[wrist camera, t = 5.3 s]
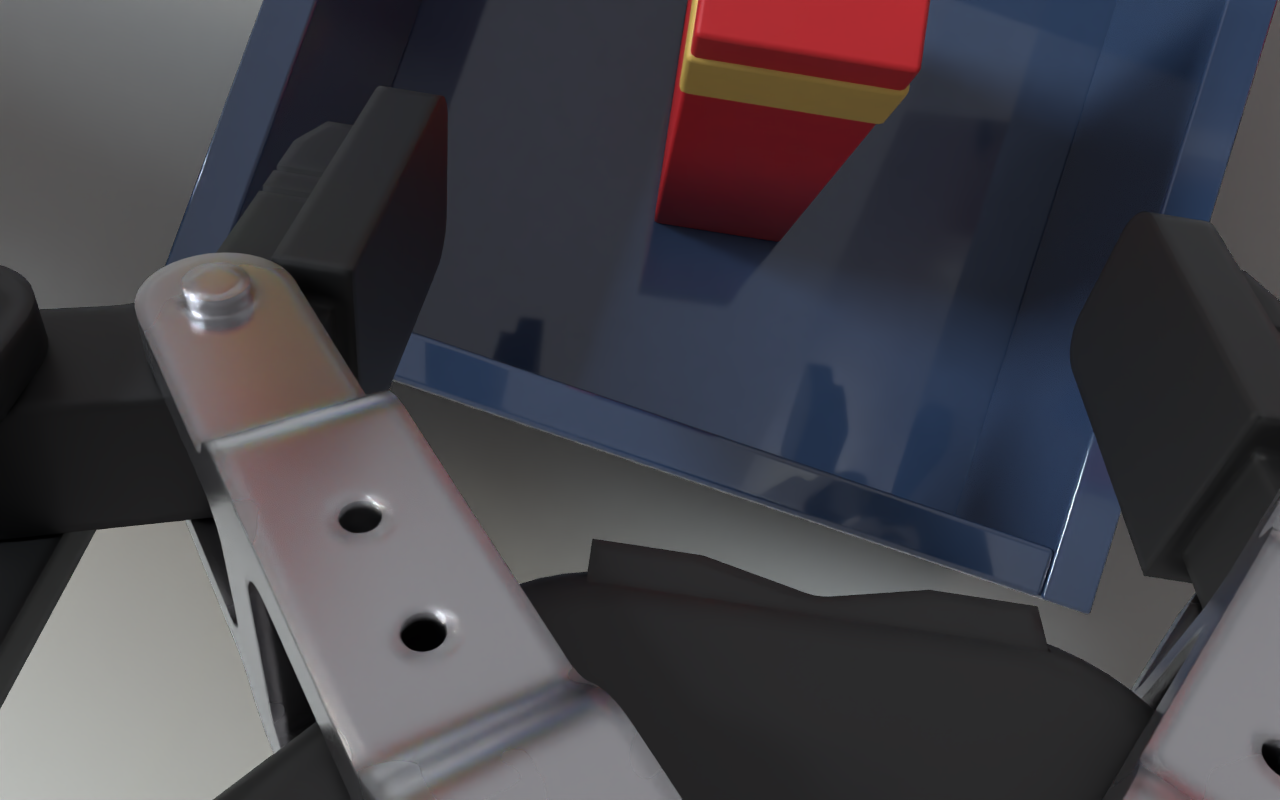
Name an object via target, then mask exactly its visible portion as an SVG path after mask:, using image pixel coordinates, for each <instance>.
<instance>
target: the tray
mask: <svg viewBox="0 0 1280 800" xmlns="http://www.w3.org/2000/svg"><path fill="white" fill-rule="evenodd" d="M687 1H688V0H263V2H262V5H261V8H260V10H259V13H258V16H257V18H256V21H255V24H254V27H253V29H252V32H251V35H250V37H249V40H248V43H247V45H246V48H245V51H244V54H243V56H242V59H241V62H240V64H239V67H238V70H237V73H236V75H235V78H234V81H233V83H232V86H231V89H230V91H229V94H228V97H227V100H226V102H225V105H224V108H223V110H222V113H221V116H220V119H219V121H218V124H217V127H216V129H215V132H214V135H213V137H212V140H211V143H210V146H209V148H208V151H207V154H206V156H205V159H204V162H203V165H202V167H201V170H200V173H199V175H198V178H197V181H196V184H195V186H194V189H193V192H192V194H191V197H190V200H189V202H188V205H187V208H186V211H185V213H184V216H183V219H182V221H181V224H180V227H179V230H178V232H177V235H176V238H175V240H174V243H173V246H172V248H171V251H170V254H169V257H168V259H167V262H166V265H165V266H167V265H169V264H171V263H173V262H176V261H179V260H181V259H184V258H188V257H192V256H196V255H202V254H209V253H216V252H217V251H218V249H219V248H220V247H221V245H222V244H223V242H224V241H225V239H226V238H227V236H228V235H229V234H230V232H231V231H232V229H233V228H234V226H235V225H236V223H237V222H238V221H239V219H240V218H241V216H242V215H243V213H244V212H245V210H246V209H247V208H248V206H249V205H250V203H251V202H252V200H253V199H254V197H255V196H256V195H257V193H258V192H259V191H262V190H263V184H264V183H265V182H266V180H267V179H268V177H269V176H270V174H271V173H272V172H273V170H277V164H278V163H279V161H280V160H281V159H282V157H283V156H284V154H285V153H286V151H287V150H288V148H289V147H290V146H291V144H292V143H293V141H294V140H295V139H297V138H299V137H301V136H302V135H304V134H306V133H308V132H309V131H311V130H313V129H315V128H317V127H318V126H320V125H322V124H324V123H325V122H327V121H330V122H336V123H342V124H349V125H354V123H355V121H356V120H357V118H358V116H359V115H360V113H361V112H362V110H363V108H364V107H365V105H366V104H367V102H368V100H369V99H370V97H371V95H372V94H373V92H374V91H375V89H376V88H377V87H378V86H385V87H392V88H398V89H404V90H410V91H416V92H422V93H429V94H435V95H441V96H444V97H445V99H446V103H447V111H448V150H447V220H446V232H445V239H444V245H443V250H442V255H441V259H440V262H439V265H438V268H437V271H436V273H435V276H434V278H433V281H432V283H431V286H430V288H429V291H428V293H427V296H426V298H425V301H424V303H423V306H422V308H421V311H420V313H419V316H418V318H417V321H416V323H415V326H414V328H413V331H412V333H411V336H410V338H409V341H408V343H407V346H406V348H405V350H404V353H403V355H402V358H401V360H400V363H399V365H398V368H397V370H396V373H395V375H394V378H393V380H392V381H394V382H397V383H400V384H403V385H406V386H408V387H411V388H414V389H417V390H420V391H423V392H426V393H429V394H432V395H435V396H438V397H441V398H444V399H447V400H450V401H453V402H456V403H459V404H462V405H465V406H468V407H471V408H474V409H477V410H480V411H483V412H486V413H489V414H491V415H494V416H497V417H500V418H503V419H506V420H509V421H512V422H515V423H518V424H521V425H524V426H527V427H530V428H533V429H536V430H539V431H542V432H545V433H548V434H551V435H554V436H557V437H560V438H563V439H566V440H569V441H571V442H574V443H577V444H580V445H583V446H586V447H589V448H592V449H595V450H598V451H601V452H604V453H607V454H610V455H613V456H616V457H619V458H622V459H625V460H628V461H631V462H634V463H637V464H640V465H643V466H646V467H649V468H652V469H654V470H657V471H660V472H663V473H666V474H669V475H672V476H675V477H678V478H681V479H684V480H687V481H690V482H693V483H696V484H699V485H702V486H705V487H708V488H711V489H714V490H717V491H720V492H723V493H726V494H729V495H732V496H734V497H737V498H740V499H743V500H746V501H749V502H752V503H755V504H758V505H761V506H764V507H767V508H770V509H773V510H776V511H779V512H782V513H785V514H788V515H791V516H794V517H797V518H800V519H803V520H806V521H809V522H812V523H815V524H817V525H820V526H823V527H826V528H829V529H832V530H835V531H838V532H841V533H844V534H847V535H850V536H853V537H856V538H859V539H862V540H865V541H868V542H871V543H874V544H877V545H880V546H883V547H886V548H889V549H892V550H895V551H897V552H900V553H903V554H906V555H909V556H912V557H915V558H918V559H921V560H924V561H927V562H930V563H933V564H936V565H939V566H942V567H945V568H948V569H951V570H954V571H957V572H960V573H963V574H966V575H969V576H972V577H975V578H978V579H981V580H984V581H987V582H990V583H993V584H996V585H999V586H1002V587H1005V588H1008V589H1011V590H1014V591H1017V592H1020V593H1023V594H1027V595H1030V596H1033V597H1036V598H1039V599H1042V600H1045V601H1048V602H1051V603H1054V604H1057V605H1060V606H1063V607H1066V608H1069V609H1072V610H1075V611H1078V612H1081V613H1084V614H1089V613H1090V612H1091V609H1092V605H1093V602H1094V599H1095V595H1096V592H1097V589H1098V586H1099V582H1100V579H1101V576H1102V573H1103V569H1104V566H1105V563H1106V559H1107V556H1108V553H1109V550H1110V546H1111V543H1112V540H1113V537H1114V533H1115V530H1116V527H1117V523H1118V520H1119V517H1120V514H1121V509H1120V506H1119V503H1118V500H1117V497H1116V494H1115V492H1114V489H1113V486H1112V483H1111V480H1110V477H1109V474H1108V472H1107V469H1106V466H1105V463H1104V460H1103V457H1102V455H1101V452H1100V449H1099V446H1098V443H1097V440H1096V437H1095V435H1094V432H1093V429H1092V426H1091V423H1090V420H1089V417H1088V415H1087V412H1086V409H1085V406H1084V403H1083V400H1082V397H1081V395H1080V392H1079V389H1078V386H1077V383H1076V380H1075V378H1074V375H1073V372H1072V368H1071V364H1070V344H1071V338H1072V333H1073V330H1074V326H1075V323H1076V321H1077V318H1078V316H1079V314H1080V312H1081V310H1082V308H1083V306H1084V305H1085V303H1086V301H1087V299H1088V297H1089V295H1090V293H1091V291H1092V289H1093V287H1094V285H1095V283H1096V281H1097V280H1098V278H1099V276H1100V274H1101V272H1102V270H1103V268H1104V266H1105V264H1106V262H1107V260H1108V258H1109V256H1110V255H1111V253H1112V251H1113V249H1114V247H1115V245H1116V243H1117V241H1118V239H1119V237H1120V235H1121V233H1122V231H1123V230H1124V228H1125V226H1126V225H1127V224H1128V222H1129V221H1130V220H1131V219H1132V218H1133V217H1134V216H1135V215H1136V214H1138V213H1140V212H1144V211H1146V212H1152V213H1158V214H1165V215H1171V216H1177V217H1183V218H1189V219H1195V220H1202V221H1207V222H1210V219H1211V216H1212V213H1213V210H1214V206H1215V203H1216V200H1217V196H1218V193H1219V190H1220V187H1221V183H1222V180H1223V177H1224V174H1225V170H1226V167H1227V164H1228V160H1229V157H1230V154H1231V151H1232V147H1233V144H1234V141H1235V138H1236V134H1237V131H1238V128H1239V125H1240V121H1241V118H1242V115H1243V111H1244V108H1245V105H1246V102H1247V98H1248V95H1249V92H1250V89H1251V85H1252V82H1253V79H1254V75H1255V72H1256V69H1257V66H1258V62H1259V59H1260V56H1261V53H1262V49H1263V46H1264V43H1265V39H1266V36H1267V33H1268V30H1269V26H1270V23H1271V20H1272V17H1273V13H1274V10H1275V7H1276V4H1277V0H930V6H929V13H928V21H927V28H926V35H925V42H924V49H923V57H922V64H921V69H920V71H919V73H918V74H917V75H916V76H915V78H914V79H913V80H912V81H911V82H910V87H909V92H908V94H907V95H906V97H905V98H904V99H903V100H902V101H901V103H900V104H899V105H898V106H897V107H896V109H895V110H894V111H893V112H892V113H891V114H890V116H889V117H888V118H887V119H886V120H885V122H884V123H881V124H876V125H875V126H874V127H873V129H872V130H871V131H870V132H869V133H868V135H867V136H866V137H865V138H864V139H863V141H862V142H861V143H860V144H859V146H858V147H857V148H856V149H855V150H854V152H853V153H852V154H851V155H850V156H849V158H848V159H847V160H846V161H845V163H844V164H843V165H842V166H841V167H840V169H839V170H838V171H837V172H836V173H835V175H834V176H833V177H832V178H831V180H830V181H829V182H828V183H827V184H826V186H825V187H824V188H823V189H822V190H821V192H820V193H819V194H818V195H817V197H816V198H815V199H814V200H813V201H812V203H811V204H810V205H809V206H808V207H807V209H806V210H805V211H804V212H803V214H802V215H801V216H800V217H799V218H798V220H797V221H796V222H795V223H794V224H793V226H792V227H791V228H790V229H789V231H788V232H787V233H786V234H785V235H784V237H783V238H782V239H781V240H780V241H778V242H776V241H769V240H763V239H757V238H750V237H744V236H738V235H731V234H725V233H719V232H712V231H706V230H700V229H693V228H687V227H681V226H674V225H668V224H662V223H657V222H655V219H654V218H655V211H656V204H657V198H658V191H659V185H660V178H661V172H662V165H663V159H664V152H665V145H666V139H667V132H668V126H669V119H670V113H671V106H672V100H673V93H674V86H675V80H676V73H677V67H678V60H679V54H680V47H681V41H682V34H683V27H684V21H685V14H686V8H687Z"/></svg>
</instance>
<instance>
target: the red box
mask: <svg viewBox="0 0 1280 800" xmlns="http://www.w3.org/2000/svg"><path fill="white" fill-rule="evenodd" d="M929 6H930V0H688V1H687V8H686V14H685V21H684V27H683V34H682V41H681V47H680V54H679V60H678V67H677V73H676V80H675V86H674V93H673V100H672V106H671V113H670V119H669V126H668V132H667V139H666V145H665V152H664V159H663V165H662V172H661V178H660V185H659V191H658V198H657V204H656V211H655V218H654V219H655V222H657V223H662V224H668V225H674V226H681V227H687V228H693V229H700V230H706V231H712V232H719V233H725V234H731V235H738V236H744V237H750V238H757V239H763V240H769V241H776V242H778V241H780V240H781V239H782V238H783V237H784V235H785V234H786V233H787V232H788V231H789V229H790V228H791V227H792V226H793V224H794V223H795V222H796V221H797V220H798V218H799V217H800V216H801V215H802V214H803V212H804V211H805V210H806V209H807V207H808V206H809V205H810V204H811V203H812V201H813V200H814V199H815V198H816V197H817V195H818V194H819V193H820V192H821V190H822V189H823V188H824V187H825V186H826V184H827V183H828V182H829V181H830V180H831V178H832V177H833V176H834V175H835V173H836V172H837V171H838V170H839V169H840V167H841V166H842V165H843V164H844V163H845V161H846V160H847V159H848V158H849V156H850V155H851V154H852V153H853V152H854V150H855V149H856V148H857V147H858V146H859V144H860V143H861V142H862V141H863V139H864V138H865V137H866V136H867V135H868V133H869V132H870V131H871V130H872V129H873V127H874V126H875V125H876V124H881V123H884V122H885V120H886V119H887V118H888V117H889V116H890V114H891V113H892V112H893V111H894V110H895V109H896V107H897V106H898V105H899V104H900V103H901V101H902V100H903V99H904V98H905V97H906V95H907V94H908V92H909V87H910V82H911V81H912V80H913V79H914V78H915V76H916V75H917V74H918V73H919V71H920V69H921V64H922V57H923V49H924V42H925V35H926V28H927V21H928V13H929Z"/></svg>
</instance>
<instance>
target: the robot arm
mask: <svg viewBox="0 0 1280 800" xmlns="http://www.w3.org/2000/svg"><path fill="white" fill-rule="evenodd" d="M447 150H448V111H447V103H446V99H445V97H444V96H441V95H435V94H429V93H422V92H416V91H410V90H404V89H398V88H392V87H385V86H378V87H377V88H376V89H375V91H374V92H373V94H372V95H371V97H370V99H369V100H368V102H367V104H366V105H365V107H364V108H363V110H362V112H361V113H360V115H359V116H358V118H357V120H356V121H355V123H354V125H349V124H342V123H336V122H330V121H327V122H325V123H324V124H322V125H320V126H318V127H317V128H315V129H313V130H311V131H309V132H308V133H306V134H304V135H302V136H301V137H299V138H297V139H295V140H294V141H293V143H292V144H291V146H290V147H289V148H288V150H287V151H286V153H285V154H284V156H283V157H282V159H281V160H280V161H279V163H278V164H277V170H273V172H272V173H271V174H270V176H269V177H268V179H267V180H266V182H265V183H264V184H263V190H262V191H259V192H258V193H257V195H256V196H255V197H254V199H253V200H252V202H251V203H250V205H249V206H248V208H247V209H246V210H245V212H244V213H243V215H242V216H241V218H240V219H239V221H238V222H237V223H236V225H235V226H234V228H233V229H232V231H231V232H230V234H229V235H228V236H227V238H226V239H225V241H224V242H223V244H222V245H221V247H220V248H219V249H218V251H217V252H216V253H209V254H202V255H196V256H192V257H188V258H184V259H181V260H179V261H176V262H173V263H171V264H169V265H167V266H165V267H163V268H161V269H159V270H158V271H156V272H155V273H154V274H152V275H151V276H150V277H149V278H148V279H147V280H146V281H144V282H143V284H142V285H141V287H140V288H139V290H138V292H137V294H136V297H135V303H131V304H125V305H115V306H100V307H80V308H61V309H41V310H39V308H38V304H37V301H36V298H35V295H34V292H33V289H32V287H31V285H30V283H29V282H28V281H27V280H26V278H24V277H23V276H22V275H20V274H19V273H18V272H16V271H14V270H12V269H10V268H8V267H4V266H1V265H0V708H1V706H2V704H3V703H4V701H5V699H6V697H7V695H8V693H9V691H10V690H11V688H12V686H13V684H14V682H15V680H16V678H17V677H18V675H19V673H20V671H21V669H22V667H23V665H24V664H25V662H26V660H27V658H28V656H29V654H30V652H31V650H32V649H33V647H34V645H35V643H36V641H37V639H38V637H39V636H40V634H41V632H42V630H43V628H44V626H45V624H46V623H47V621H48V619H49V617H50V615H51V613H52V611H53V610H54V608H55V606H56V604H57V602H58V600H59V598H60V596H61V595H62V593H63V591H64V589H65V587H66V585H67V583H68V582H69V580H70V578H71V576H72V574H73V572H74V570H75V569H76V567H77V565H78V563H79V561H80V559H81V557H82V556H83V554H84V552H85V550H86V548H87V546H88V544H89V542H90V541H91V539H92V537H93V535H94V533H95V531H96V530H97V529H107V528H116V527H126V526H135V525H145V524H154V523H164V522H173V521H183V520H186V524H187V527H188V529H189V531H190V534H191V536H192V539H193V541H194V544H195V546H196V549H197V551H198V553H199V556H200V558H201V561H202V563H203V566H204V568H205V571H206V573H207V575H208V578H209V580H210V583H211V585H212V588H213V590H214V593H215V595H216V597H217V600H218V602H219V605H220V607H221V610H222V612H223V615H224V617H225V619H226V622H227V624H228V627H229V629H230V632H231V634H232V637H233V639H234V641H235V644H236V646H237V649H238V651H239V654H240V657H241V659H242V662H243V665H244V668H245V671H246V674H247V677H248V680H249V683H250V687H251V690H252V694H253V697H254V700H255V703H256V707H257V710H258V713H259V716H260V719H261V722H262V724H263V727H264V730H265V733H266V736H267V738H268V741H269V744H270V746H271V749H272V751H273V755H272V756H270V757H269V758H268V759H266V760H265V761H264V762H262V763H261V764H260V765H258V766H257V767H256V768H254V769H253V770H252V771H250V772H249V773H248V774H246V775H245V776H244V777H242V778H241V779H240V780H238V781H237V782H236V783H234V784H233V785H232V786H230V787H229V788H228V789H227V790H225V791H224V792H223V793H221V794H220V795H219V796H217V797H216V798H215V799H213V800H1280V302H1279V300H1278V299H1277V298H1276V297H1274V296H1273V295H1272V294H1271V293H1270V292H1269V291H1267V290H1266V289H1265V288H1264V287H1263V286H1262V285H1260V284H1259V283H1258V282H1257V281H1256V280H1255V279H1253V278H1252V277H1251V276H1250V275H1249V274H1248V273H1247V272H1245V271H1244V270H1240V268H1239V266H1238V265H1237V263H1236V262H1235V260H1234V258H1233V257H1232V255H1231V253H1230V252H1229V250H1228V248H1227V247H1226V245H1225V243H1224V242H1223V240H1222V238H1221V237H1220V235H1219V233H1218V232H1217V230H1216V229H1215V227H1214V226H1213V225H1212V224H1211V223H1210V222H1207V221H1202V220H1195V219H1189V218H1183V217H1177V216H1171V215H1165V214H1158V213H1152V212H1146V211H1144V212H1140V213H1138V214H1136V215H1135V216H1134V217H1133V218H1132V219H1131V220H1130V221H1129V222H1128V224H1127V225H1126V226H1125V228H1124V230H1123V231H1122V233H1121V235H1120V237H1119V239H1118V241H1117V243H1116V245H1115V247H1114V249H1113V251H1112V253H1111V255H1110V256H1109V258H1108V260H1107V262H1106V264H1105V266H1104V268H1103V270H1102V272H1101V274H1100V276H1099V278H1098V280H1097V281H1096V283H1095V285H1094V287H1093V289H1092V291H1091V293H1090V295H1089V297H1088V299H1087V301H1086V303H1085V305H1084V306H1083V308H1082V310H1081V312H1080V314H1079V316H1078V318H1077V321H1076V323H1075V326H1074V330H1073V333H1072V338H1071V344H1070V364H1071V368H1072V372H1073V375H1074V378H1075V380H1076V383H1077V386H1078V389H1079V392H1080V395H1081V397H1082V400H1083V403H1084V406H1085V409H1086V412H1087V415H1088V417H1089V420H1090V423H1091V426H1092V429H1093V432H1094V435H1095V437H1096V440H1097V443H1098V446H1099V449H1100V452H1101V455H1102V457H1103V460H1104V463H1105V466H1106V469H1107V472H1108V474H1109V477H1110V480H1111V483H1112V486H1113V489H1114V492H1115V494H1116V497H1117V500H1118V503H1119V506H1120V509H1121V512H1122V514H1123V517H1124V520H1125V523H1126V526H1127V529H1128V532H1129V534H1130V537H1131V540H1132V543H1133V546H1134V549H1135V551H1136V554H1137V557H1138V560H1139V563H1140V566H1141V569H1142V571H1143V574H1144V576H1149V577H1155V578H1162V579H1168V580H1175V581H1181V582H1188V583H1193V586H1194V588H1195V591H1196V593H1195V594H1194V595H1193V596H1192V598H1191V599H1190V600H1189V602H1188V603H1187V604H1186V605H1185V607H1184V608H1183V609H1182V610H1181V612H1180V613H1179V614H1178V616H1177V618H1176V619H1175V621H1174V622H1173V624H1172V625H1171V627H1170V629H1169V630H1168V632H1167V633H1166V635H1165V637H1164V638H1163V640H1162V641H1161V643H1160V645H1159V646H1158V648H1157V649H1156V651H1155V652H1154V654H1153V656H1152V657H1151V659H1150V660H1149V662H1148V664H1147V665H1146V667H1145V668H1144V670H1143V672H1142V673H1141V675H1140V676H1139V678H1138V679H1137V681H1136V683H1135V684H1134V686H1133V687H1132V689H1131V690H1130V689H1128V688H1127V687H1125V686H1124V685H1123V684H1121V683H1120V682H1118V681H1117V680H1115V679H1114V678H1113V677H1111V676H1110V675H1108V674H1107V673H1105V672H1103V671H1101V670H1100V669H1098V668H1096V667H1095V666H1093V665H1091V664H1089V663H1088V662H1086V661H1084V660H1082V659H1080V658H1078V657H1076V656H1074V655H1072V654H1070V653H1068V652H1066V651H1063V650H1061V649H1059V648H1057V647H1054V646H1052V645H1049V644H1047V642H1046V638H1045V634H1044V630H1043V626H1042V622H1041V618H1040V614H1039V610H1038V606H1031V605H1025V604H1018V603H1012V602H1005V601H998V600H992V599H985V598H979V597H972V596H966V595H959V594H952V593H946V592H939V591H933V590H922V591H907V592H892V593H877V594H863V595H848V596H833V597H821V596H814V595H810V594H807V593H804V592H801V591H798V590H796V589H793V588H790V587H787V586H785V585H782V584H779V583H777V582H774V581H771V580H768V579H766V578H763V577H760V576H757V575H755V574H752V573H749V572H746V571H744V570H741V569H738V568H735V567H733V566H730V565H727V564H725V563H722V562H719V561H716V560H714V559H711V558H708V557H705V556H702V555H696V554H689V553H683V552H676V551H669V550H663V549H656V548H650V547H643V546H636V545H630V544H623V543H617V542H610V541H604V540H597V539H593V540H592V546H591V553H590V559H589V566H588V572H579V573H567V574H561V575H555V576H549V577H544V578H539V579H535V580H532V581H529V582H525V583H522V584H519V583H518V582H517V580H516V579H515V577H514V576H513V574H512V573H511V571H510V569H509V568H508V566H507V565H506V563H505V562H504V560H503V559H502V557H501V556H500V554H499V552H498V551H497V549H496V548H495V546H494V545H493V543H492V542H491V540H490V538H489V537H488V535H487V534H486V532H485V531H484V529H483V528H482V526H481V524H480V523H479V521H478V520H477V518H476V517H475V515H474V514H473V512H472V511H471V509H470V507H469V506H468V504H467V503H466V501H465V500H464V498H463V497H462V495H461V493H460V492H459V490H458V489H457V487H456V486H455V484H454V483H453V481H452V480H451V478H450V476H449V475H448V473H447V472H446V470H445V469H444V467H443V466H442V464H441V462H440V461H439V459H438V458H437V456H436V455H435V453H434V452H433V450H432V449H431V447H430V445H429V444H428V442H427V441H426V439H425V438H424V436H423V435H422V433H421V431H420V430H419V428H418V427H417V425H416V424H415V422H414V421H413V419H412V417H411V416H410V414H409V413H408V411H407V410H406V408H405V407H404V405H403V404H402V402H401V401H400V400H399V398H398V397H397V396H396V395H395V394H394V393H392V392H391V391H389V388H390V385H391V383H392V380H393V378H394V375H395V373H396V370H397V368H398V365H399V363H400V360H401V358H402V355H403V353H404V350H405V348H406V346H407V343H408V341H409V338H410V336H411V333H412V331H413V328H414V326H415V323H416V321H417V318H418V316H419V313H420V311H421V308H422V306H423V303H424V301H425V298H426V296H427V293H428V291H429V288H430V286H431V283H432V281H433V278H434V276H435V273H436V271H437V268H438V265H439V262H440V259H441V255H442V250H443V245H444V239H445V232H446V220H447Z"/></svg>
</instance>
